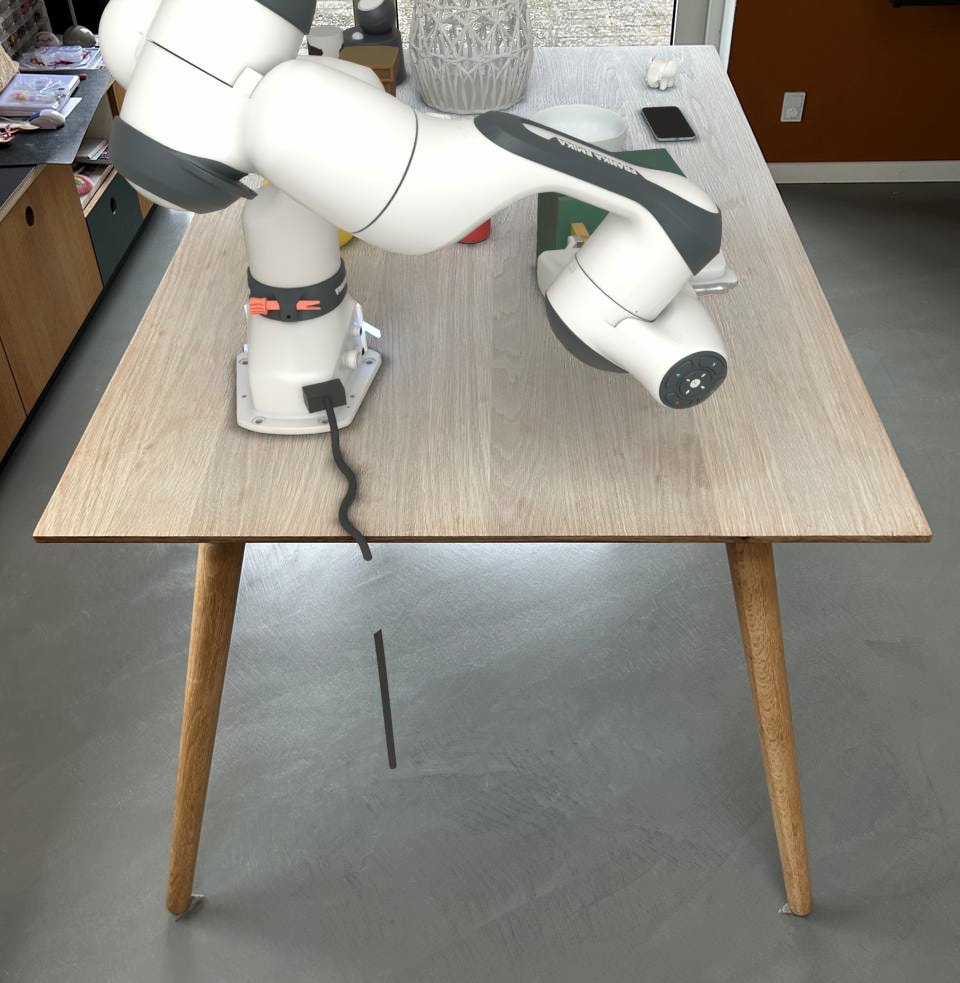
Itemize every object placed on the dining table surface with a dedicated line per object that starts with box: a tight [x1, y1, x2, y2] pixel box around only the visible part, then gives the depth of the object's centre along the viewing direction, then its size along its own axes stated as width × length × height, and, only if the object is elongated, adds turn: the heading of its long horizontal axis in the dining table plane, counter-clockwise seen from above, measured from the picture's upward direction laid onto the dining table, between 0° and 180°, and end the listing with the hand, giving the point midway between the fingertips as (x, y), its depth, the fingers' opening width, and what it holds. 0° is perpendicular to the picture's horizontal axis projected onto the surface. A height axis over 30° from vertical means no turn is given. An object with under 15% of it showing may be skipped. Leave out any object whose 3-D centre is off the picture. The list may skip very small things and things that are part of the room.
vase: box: [408, 0, 535, 115], centre depth 199 cm, size 24×24×30 cm
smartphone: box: [640, 105, 696, 142], centre depth 195 cm, size 7×1×15 cm
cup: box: [305, 25, 344, 58], centre depth 198 cm, size 7×7×15 cm
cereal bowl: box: [529, 103, 628, 152], centre depth 182 cm, size 17×17×7 cm
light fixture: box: [342, 0, 407, 87], centre depth 211 cm, size 13×16×14 cm
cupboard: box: [535, 147, 688, 270], centre depth 146 cm, size 12×18×17 cm, turn 99°
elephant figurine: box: [645, 54, 679, 91], centre depth 209 cm, size 7×8×6 cm
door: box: [556, 196, 609, 250], centre depth 139 cm, size 6×18×17 cm, turn 99°
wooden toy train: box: [338, 46, 400, 98], centre depth 184 cm, size 20×11×17 cm, turn 87°
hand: (614, 237), depth 119 cm, fingers open, 8 cm apart
